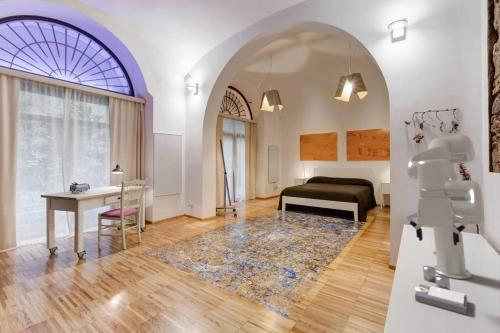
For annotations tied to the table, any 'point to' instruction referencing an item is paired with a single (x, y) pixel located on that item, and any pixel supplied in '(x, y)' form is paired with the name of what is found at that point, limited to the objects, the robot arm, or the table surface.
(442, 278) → the cylinder
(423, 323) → the table surface
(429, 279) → the cylinder
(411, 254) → the table surface
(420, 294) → the scale
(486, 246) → the table surface
